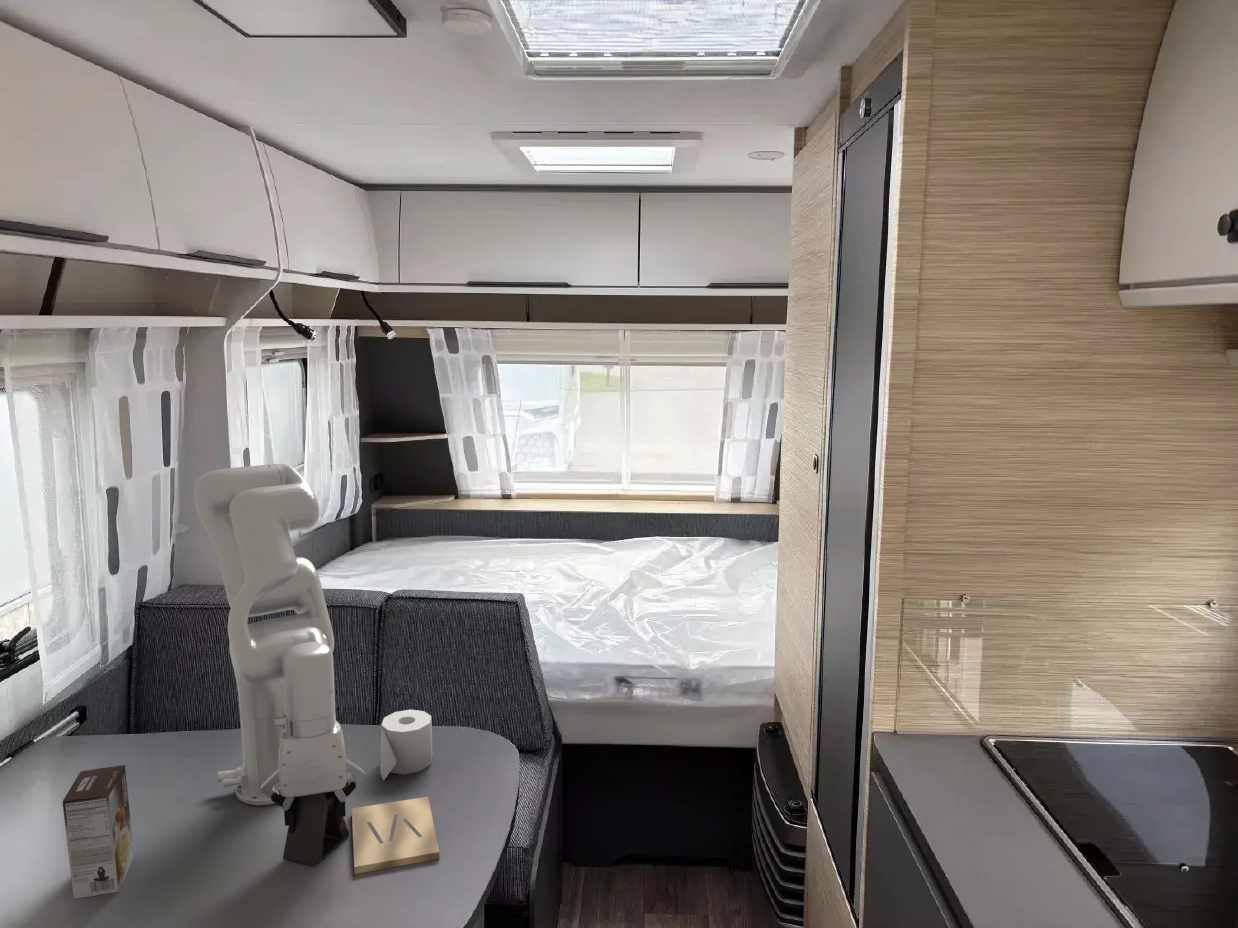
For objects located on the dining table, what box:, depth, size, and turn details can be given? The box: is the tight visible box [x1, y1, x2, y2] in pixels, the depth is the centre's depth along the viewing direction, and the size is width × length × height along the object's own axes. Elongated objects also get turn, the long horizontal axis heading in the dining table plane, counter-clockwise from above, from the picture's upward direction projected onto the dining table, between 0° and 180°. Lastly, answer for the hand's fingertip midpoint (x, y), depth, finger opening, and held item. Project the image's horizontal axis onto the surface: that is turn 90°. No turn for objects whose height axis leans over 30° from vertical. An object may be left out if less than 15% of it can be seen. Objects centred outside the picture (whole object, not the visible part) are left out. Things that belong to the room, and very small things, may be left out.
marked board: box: [351, 796, 441, 875], centre depth 145 cm, size 13×17×1 cm
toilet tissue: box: [379, 709, 433, 782], centre depth 167 cm, size 9×13×9 cm
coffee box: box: [61, 764, 135, 900], centre depth 132 cm, size 9×6×16 cm
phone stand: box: [282, 791, 350, 867], centre depth 141 cm, size 9×6×12 cm, turn 161°
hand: (315, 823), depth 141 cm, fingers closed on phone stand, 6 cm apart
